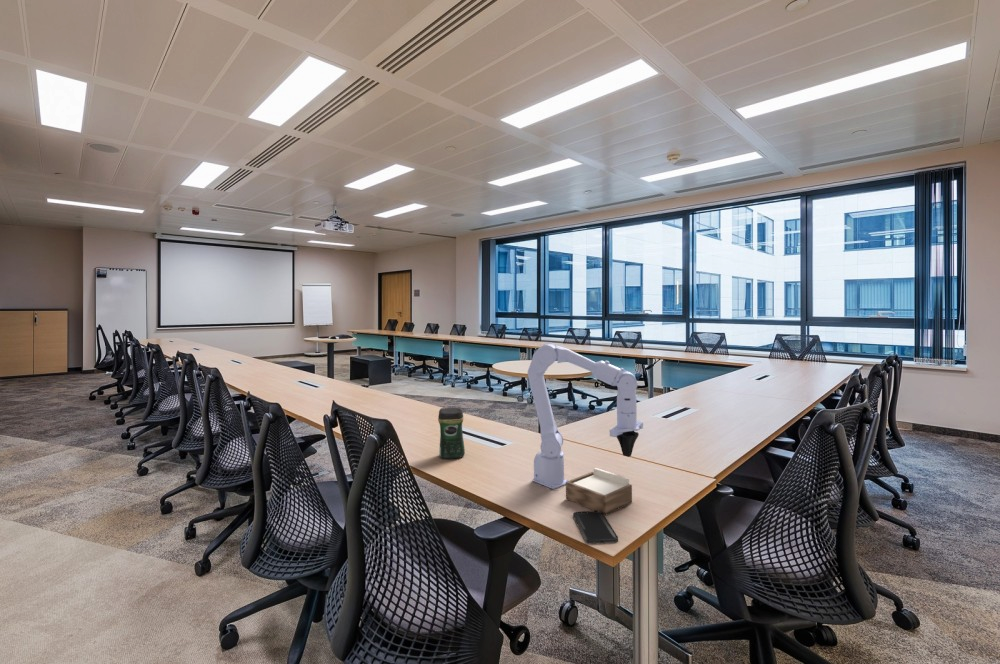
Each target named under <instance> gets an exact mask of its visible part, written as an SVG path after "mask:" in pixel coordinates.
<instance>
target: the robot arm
mask: <svg viewBox="0 0 1000 664" xmlns="http://www.w3.org/2000/svg"><path fill="white" fill-rule="evenodd" d="M556 360H557V361H556ZM555 362H557V364H562V363H570V364H572V365H574V366H577V367H579V368H582V369H584V370H586V371H589V372H591V375H592V376H593V378H595V379H597V380H599V381H601V382H603V383H605V384H607V385H610V386H612V387H617V396H616V425H615V426H614V427H613V428H611V429H609V437H612V438H617V442H618V443H619V446H620V449H621V453H622V455H623V456H624V457H627V458H629V457H631V456H632V454H633V449H634V446H635V443H636V440H637V439H638V437H639V432H638V431H640V429H641V430H642V429H644V421H639V420H638V419H637V391H636V390H637V388H638V386H639V385H638V384H639V383H638V382H637V378H636V376H635V375H634V374H633V373H632V372H630V371H629V370H625V368H623V367H620V368H619V367H618V366H616V365H613V364H610V361H609V360H605V361H604V360H599V361H596V362H595V361H593V360H592V359H590V358H588V357H585V356H583V355H581V354H579V353H577V352H576V351H573V350H572V349H569V348H566V347H563V346H561V345H556V344H555V343H552V342H547V343H544V344H543V345H540V346H539V347H538V349H537V350H535V352H534V353H533V355H532V358H531V361H530V364H529V367H528V370H527V378H528V382H529V385H530V389H531V394H532V397H533V402H534V407H535V411H536V414H537V420H538V423H539V427H540V440H541V443H540V451H538V452H537V453H536V454H535V455H534V458H533V478H532V479H531V480H532V481H533V482H535V483H538V484H539V485H542V486H544V487H547V488H549V489H553V490H554V489H557V488H560V487H561V486H566V482H567V481H569V480H568V479H566V478H565V462H564V461H565V456H564V455H565V453H564V452H563V450H562V447H563V444H564V437H563V435H562V434H561V432H560V431H559V428H558V426H557V423H556V421H555V418H554V417H555V416H554V414H553V413H554V412H553V409H552V406H551V401H550V395H549V393H548V387H547V384H546V383H547V382H546V380H545V376H544V374H545V373H546V371H548V368H549V367H550V366H552V365H553V364H554V363H555ZM637 420H638V421H637Z"/></svg>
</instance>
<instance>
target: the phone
mask: <svg viewBox="0 0 1000 664" xmlns="http://www.w3.org/2000/svg"><path fill="white" fill-rule="evenodd" d="M572 514H573V515H572V516H573V519H574V521H575V523H576V525H577V527H578V530H579V531H580V534H581V535H582V538H583V539H584V541H585V543H587V544H589V545H590V544H592V545H595V544H596V545H597V544H610V543H611V544H612V543H615V544H616V543H618V542H619V536H618V535H617V533H616V531H614V529H613V527H612V526H611V524H610V522H609V521H608V519H607V518H606V515H604V514H603V513H602V512H601V511H594V510H586V511H585V510H584V511H583V510H582V511H575V512H573V513H572Z"/></svg>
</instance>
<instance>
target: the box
mask: <svg viewBox="0 0 1000 664" xmlns="http://www.w3.org/2000/svg"><path fill="white" fill-rule="evenodd" d="M592 475H594V471H590V472H588V473H585V474H582V475H580V476H577V477H576V478H572V479H570V480H569V481H567V482H566V484H565V500H567V501H570V502H571V503H572V502H573V503H575V504H578V505H580V506H582V507H585V508H587V509H590V510H591V511H601V512H602V513H603V514H604V516H608V515H609V514H611V513H613V512H615V511H617V510H619V509H621V508H623V507H625V506H627V505H629V504H631V503H633V492H632V491H633V484H630V483H629V484H628V485H626V486H624V487H622V488H620V489H617V490H615V491H613V492H611V493H608V494H606V495H603V494H601V493H598V492H595V491H593V490H590V489H587V488H585V487H582V486H579V485H576V484H574V482H577V481H579V480H582V479H584V478H587V477H590V476H592Z"/></svg>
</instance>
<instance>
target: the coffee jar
mask: <svg viewBox="0 0 1000 664" xmlns="http://www.w3.org/2000/svg"><path fill="white" fill-rule="evenodd" d="M437 416H438V418H437V421H438V423H439V428H440V429H439V437H440V438H439V458H441V459H443V460H444V459H446V460H448V459H449V460H451V459H461V458H462V457H463V458H464V456H465V454H466V453H465V451H466V450H465V449H466V448H465V443H464V442H465V441H464V435H463V434H464V433H463V422H464V412H463V409H462V407H460V406H459V407H443V408H440V409H439V411H438V415H437Z"/></svg>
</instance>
